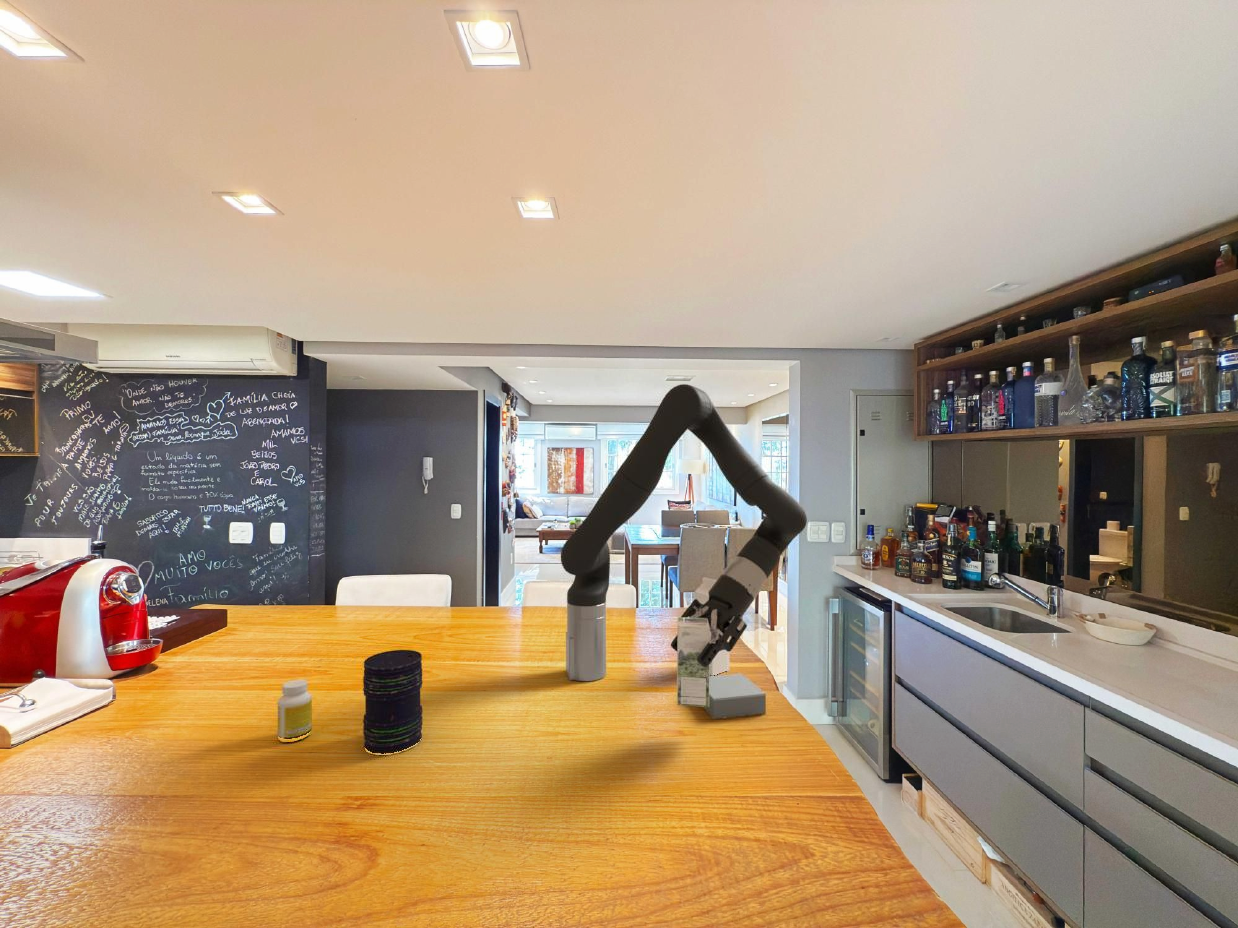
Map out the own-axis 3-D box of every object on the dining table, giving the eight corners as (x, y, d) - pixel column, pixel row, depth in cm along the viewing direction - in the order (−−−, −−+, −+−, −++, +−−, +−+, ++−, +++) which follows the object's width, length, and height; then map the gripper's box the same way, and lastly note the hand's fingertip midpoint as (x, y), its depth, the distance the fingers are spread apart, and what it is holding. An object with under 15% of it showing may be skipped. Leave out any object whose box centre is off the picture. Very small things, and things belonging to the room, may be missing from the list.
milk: (712, 676, 130) (711, 583, 130) (694, 669, 135) (693, 578, 134) (730, 670, 133) (729, 579, 133) (711, 663, 138) (711, 575, 138)
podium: (713, 719, 108) (713, 698, 108) (694, 696, 119) (694, 677, 119) (765, 713, 110) (765, 693, 110) (741, 691, 121) (741, 673, 121)
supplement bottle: (318, 732, 103) (318, 679, 103) (292, 746, 98) (292, 690, 98) (296, 727, 105) (296, 676, 105) (270, 741, 100) (270, 686, 100)
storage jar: (364, 761, 93) (364, 672, 93) (361, 736, 101) (361, 654, 102) (426, 747, 97) (426, 662, 97) (418, 724, 106) (418, 646, 106)
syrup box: (707, 694, 103) (708, 616, 103) (709, 708, 97) (710, 626, 97) (676, 692, 104) (677, 615, 104) (676, 706, 98) (677, 624, 98)
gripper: (704, 567, 110) (654, 632, 105) (752, 581, 97) (698, 656, 92) (725, 590, 113) (677, 656, 107) (775, 607, 100) (723, 682, 95)
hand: (687, 656), depth 100 cm, fingers closed on syrup box, 8 cm apart
